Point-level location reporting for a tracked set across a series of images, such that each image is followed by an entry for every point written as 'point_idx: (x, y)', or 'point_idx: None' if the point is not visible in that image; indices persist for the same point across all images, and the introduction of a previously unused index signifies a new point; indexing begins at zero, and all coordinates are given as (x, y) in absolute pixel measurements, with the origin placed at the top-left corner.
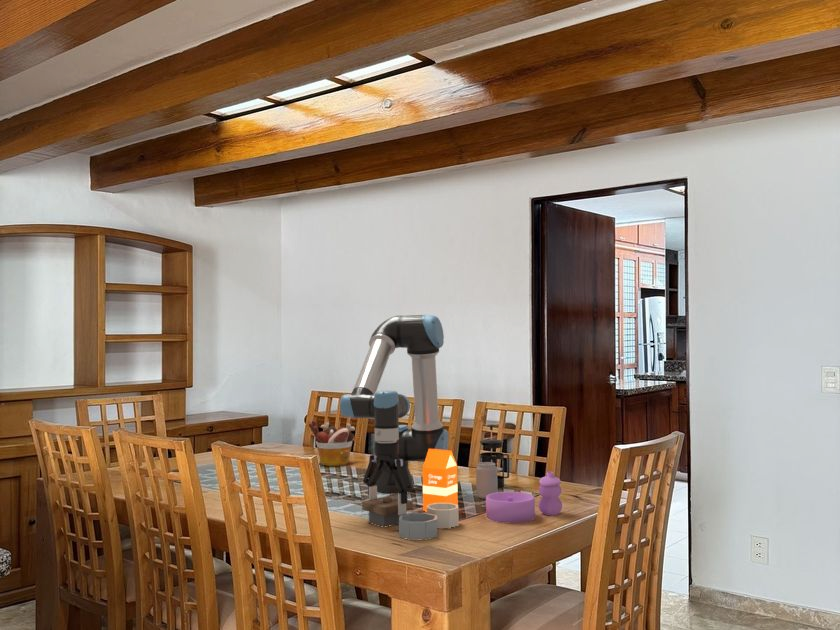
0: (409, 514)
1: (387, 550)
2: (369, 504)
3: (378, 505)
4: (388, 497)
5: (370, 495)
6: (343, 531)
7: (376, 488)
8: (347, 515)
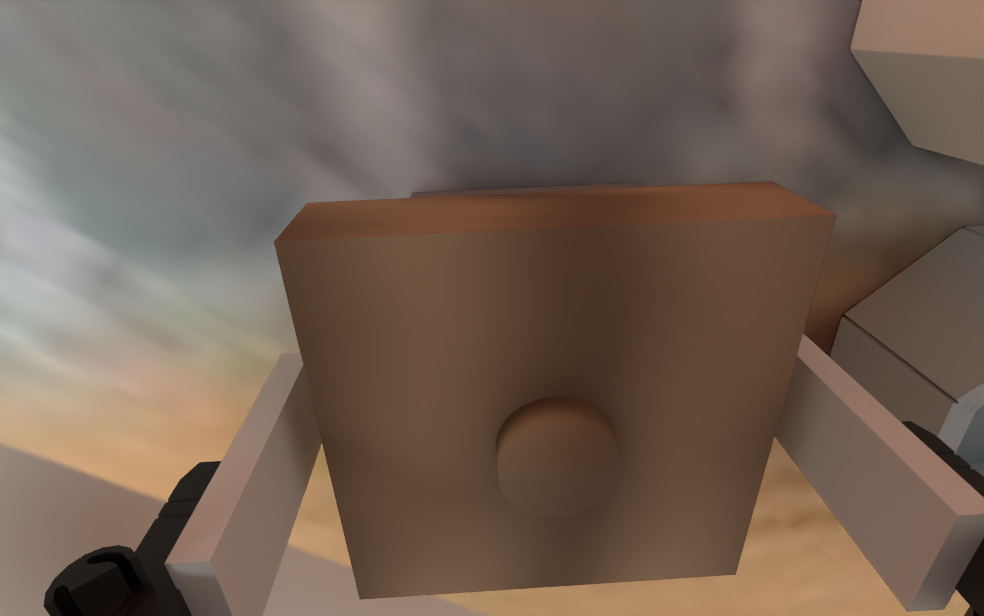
0: (960, 436)
1: (942, 610)
2: (479, 580)
3: (620, 579)
4: (538, 444)
5: (286, 537)
6: (488, 597)
7: (230, 530)
8: (82, 404)
